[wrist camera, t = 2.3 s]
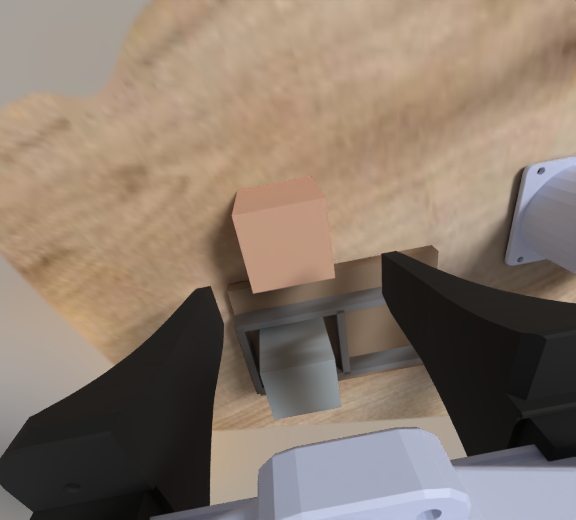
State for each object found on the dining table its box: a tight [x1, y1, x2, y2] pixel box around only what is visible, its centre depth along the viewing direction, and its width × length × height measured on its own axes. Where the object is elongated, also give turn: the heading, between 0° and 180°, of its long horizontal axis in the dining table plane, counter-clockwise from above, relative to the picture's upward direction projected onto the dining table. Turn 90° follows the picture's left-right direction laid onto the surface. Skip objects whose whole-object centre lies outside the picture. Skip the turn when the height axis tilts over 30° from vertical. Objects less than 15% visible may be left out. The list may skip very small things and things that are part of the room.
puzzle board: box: [227, 245, 438, 420], centre depth 23 cm, size 16×12×6 cm
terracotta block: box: [232, 176, 335, 294], centre depth 19 cm, size 5×5×5 cm
